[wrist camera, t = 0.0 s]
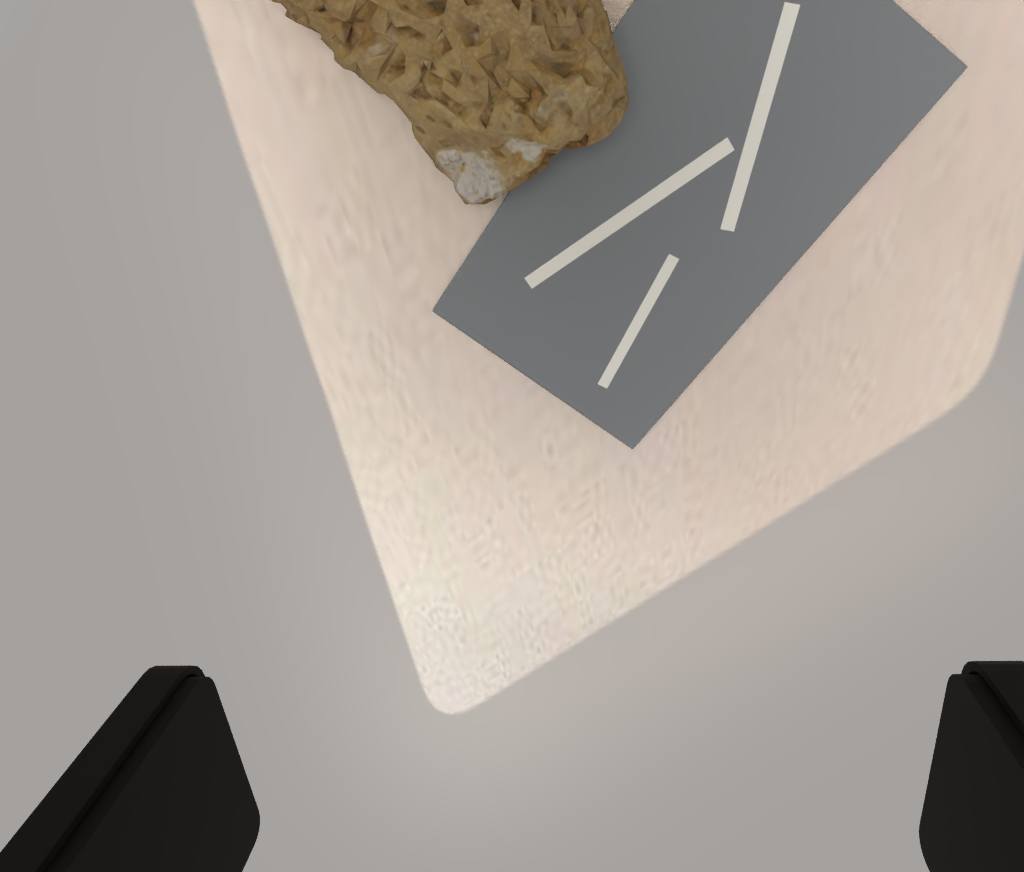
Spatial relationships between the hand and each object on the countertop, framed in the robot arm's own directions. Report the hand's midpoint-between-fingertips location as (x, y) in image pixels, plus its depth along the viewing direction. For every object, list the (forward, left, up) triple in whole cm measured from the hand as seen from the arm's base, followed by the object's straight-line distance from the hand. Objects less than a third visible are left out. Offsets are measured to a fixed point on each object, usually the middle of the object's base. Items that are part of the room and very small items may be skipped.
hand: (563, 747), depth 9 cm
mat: (-5, +2, -31) cm, 32 cm away
